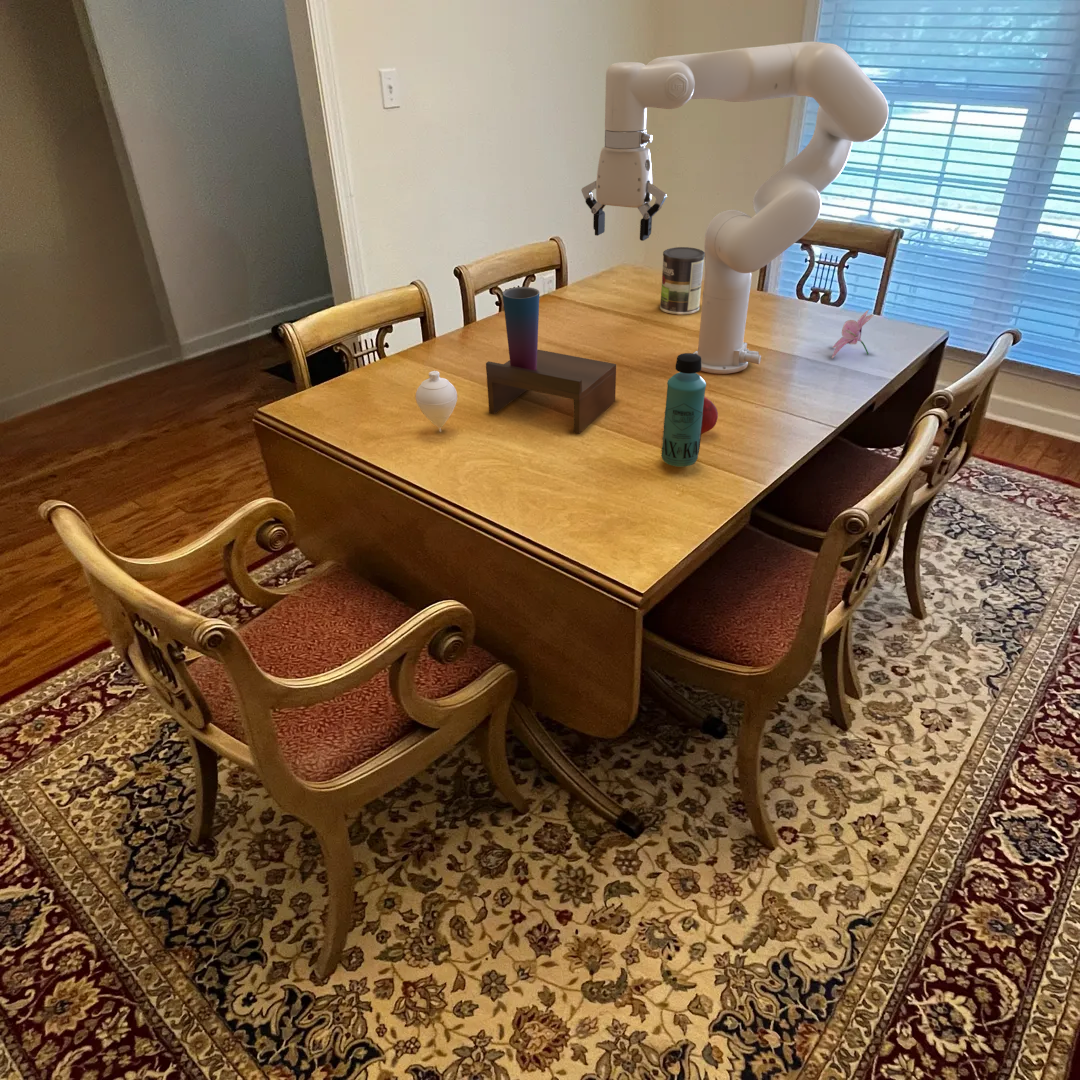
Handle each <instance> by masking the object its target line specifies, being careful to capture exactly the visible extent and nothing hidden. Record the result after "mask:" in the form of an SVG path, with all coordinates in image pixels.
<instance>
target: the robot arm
mask: <svg viewBox="0 0 1080 1080" xmlns="http://www.w3.org/2000/svg"><path fill="white" fill-rule="evenodd" d="M604 97H605V98H604V99H605V101H604V102H605V103H604V105H605V106H604V117H605V118H604V145H603V147H601V149H600V154H599V159H598V165H597V172H596V180H595V181H593V182H591V183H589V184H587V185H585V186H582V188H581V193H582V196H583V198H584V200H585V204H586V205H587V207H588V208H589V209H590V212H591V214H592V215H593V219H592V220H593V221H592V222H593V223H592V224H593V226H592V227H593V231H594V236H599V235H602V234H604V233H605V231H606V230H605V229H606V212H605V211H604V208H605V207H606V206H612V207H620V208H621V207H622V208H635V209H636V208H637V209H638V211H639V212H640V215H642V218H641V219H640V221H639V223H640V224H639V240H640V241H641V242H643V241H646V240H648V239H649V238H650V236H651V234H652V228H653V227H652V226H653V225H652V224H653V217H654V216H655V215H656V214H657V212H659V211H660V210H661V209H662V206H663V205H664V202H666V199H667V197H668V196H667V193H666V192H664V191H663V190H662V189H660V188H658V186H656V185H654V184H653V170H652V169H653V168H652V158H651V150H650V148H649V147H646V146H647V144H648V143H649V144H651V143H652V142H653V135H652V134H649V133H647V132H648V129H647V113H648V112H647V111H648V108H655V109H661V110H662V109H663V110H675V109H678V108H681V107H683V106H684V105H686V104H687V103H688V102H689V101H690V100H705V99H706V100H718V101H724V102H730V103H748V102H755V101H757V102H758V101H765V100H773V99H785V98H793V97H808V98H812V99H814V100H815V102H816V103H817V105H818V108H817V112H816V121H815V126H814V130H813V134H812V136H811V139H810V140H809V142H808V143H807V145H806V146H805V147H804V148H803V149H802V150H801V151H800V152H799V153H798V154H797V155H796V156H795V157H793V158H792V159H790V161H789V162H787V163H786V164H785V165H783V166H782V167H781V168H780V169H779V170H777V171H776V172H775V173H774V174H772V175H771V176H770V177H769V178H767V179H766V180H765V181H763V183H762V184H760V186H759V187H758V188H757V190H756V191H755V192H754V195H753V198H752V200H753V201H752V207H753V210H754V213H755V214H754V215H753V216H750V215H749V214H747V213H745V212H743V211H741V210H738V209H726V210H722V211H720V212H718V213H717V214H716V215H715V216H714V217H713V218H712V219H711V220H710V221H709V223H708V225H707V227H706V231H705V234H704V242H703V243H704V244H703V245H704V249H703V250H704V252H705V256H704V279H703V289H702V290H703V291H702V300H701V301H702V302H701V311H700V312H701V313H700V321H699V333H698V343H697V344H698V345H697V350H695V351H694V352H692V353H693V354H697V355H699V356H700V357H701V365H702V367H701V371H700V372H705V373H709V374H719V375H728V374H734V373H738V372H741V371H743V370H745V369H746V368H747V367H748V366H749V363H750V364H754V365H755V364H756V365H760V364H761V361H762V355H761V354H760V351H756V350H750V349H749V348H747V347H748V342H744V341H745V333H746V331H745V330H746V326H747V325H746V324H747V316H748V308H749V303H750V302H749V301H750V294H751V285H752V273H754V272H757V271H759V270H760V269H762V268H764V267H766V266H767V265H768V264H770V263H771V262H773V261H774V260H775V259H776V258H778V257H779V256H780V255H781V254H782V253H784V252H785V251H786V250H788V249H789V248H790V247H791V246H793V245H794V244H795V243H796V242H798V241H799V240H800V239H802V238H803V237H804V236H806V234H807V233H809V231H811V230H812V228H813V226H814V225H815V224H816V223H817V220H818V219H819V217H820V214H821V210H822V198H821V193H822V192H823V191H824V190H826V188H828V187H829V186H830V185H832V183H833V182H834V181H836V179H837V178H838V177H839V176H840V175H841V173H842V172H843V170H844V169H845V166H846V164H847V162H848V159H849V157H850V154H851V150H852V146H853V143H857V144H858V143H866V142H869V141H872V140H874V139H875V138H876V137H877V136H879V135H880V133H881V132H882V131H883V130H884V129H885V127H886V124H887V122H888V118H889V113H890V112H889V103H888V100H887V99H886V96H885V95H884V93H883V92H882V91H881V90H880V88H879V87H878V86H877V85H876V84H875V83H874V82H873V80H871V78H870V77H869V76H868V75H867V74H866V72H865V71H864V70H863V69H862V68H861V67H860V66H859V64H858V63H857V62H856V61H855V59H854V58H852V56H851V55H849V53H848V52H847V51H846V50H845V49H843V47H841V46H839V45H838V44H836V43H832V42H831V43H830V42H820V41H801V42H789V43H781V44H773V45H761V46H753V47H750V46H749V47H743V48H742V47H741V48H732V49H725V50H719V51H711V52H709V51H708V52H697V53H686V54H676V55H669V56H660V57H656V58H654V59H652V60H650V61H649V62H647V64H645V63H643V62H639V61H638V62H637V61H619V62H615V63H611V64H610V65H608V67H607V69H606V72H605V96H604ZM594 190H595V197H596V198H595V197H594V196H593V191H594ZM652 197H654V198H655V202H654V204H653V205H651V203H650V202H651V201H652V199H653V198H652Z"/></svg>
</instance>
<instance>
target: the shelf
mask: <svg viewBox="0 0 1080 1080" xmlns="http://www.w3.org/2000/svg"><path fill="white" fill-rule="evenodd" d="M485 370H486V371H485V372H486V373H485V374H486V385H487V386H486V387H487V401H488V413H489V414H491V415H496V414H497V413H498V412H499V411H501V410H503V408H505V407H506V406H508V405H509V404H511V403H512V402H513V401H514V400H516V399H517V398H519V397H520V396H521V395H523V394H524V393H526V391H532V392H538V393H541V394H546V395H551V396H557V397H562V398H566V399H571V400H573V433H574V434H576V435H577V434H578V435H580V434H581V433H582V432H583V431H584V430H586V428H588V427H589V426H590V425H591V424H592V423H593V422H595V420H596V419H597V418H599V417H600V416H602V414H603V413H604V412H605V411H606V410H607V409H609V408H610V407H611V406H612V405H613V404H614V403H615V402H616V391H617V390H616V386H617V363H613V362H607V361H602V360H598V359H597V360H596V359H591V358H587V357H586V358H585V357H582V356H581V357H580V356H576V355H569V354H565V353H559V352H553V351H548V350H544V349H543V350H542V349H538V348H537V370H536V371H535V370H530V369H525V368H520V367H515V366H510V359H509V360H508V361H506V362H505V363H500V362H494V361H486V362H485Z"/></svg>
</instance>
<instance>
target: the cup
mask: <svg viewBox="0 0 1080 1080" xmlns="http://www.w3.org/2000/svg"><path fill="white" fill-rule="evenodd" d="M502 301H503V310H504V311H503V312H504V321H505V329H506V338H507V339H506V340H507V347H508V348H507V349H508V354H509V360H510V366H515V367H520V368H525V369H530V370H535V371H536V370H537V349H538V347H539V344H538V342H539V340H538V339H539V317H540V314H539V313H540V290H538V289H537V288H534V287H531V286H517V287H516V286H515V287H511V288H506V289H505V290H504V291H503V290H502Z"/></svg>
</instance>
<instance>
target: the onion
mask: <svg viewBox="0 0 1080 1080" xmlns="http://www.w3.org/2000/svg"><path fill="white" fill-rule="evenodd" d="M703 415H704V416H702V423H703V424H702V425H701V428H702V429H701V430H702V431H701V434H700V436H702V435H703V434H706V433H707V432H709V431H711V430H713V429H714V427H715V426H716V424H717V422H718V418H719V412H718V409H717V407H716V405H715V404H714V403H713V402H712V400H710V399H709V398H708V397H706V396H704V405H703Z"/></svg>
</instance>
